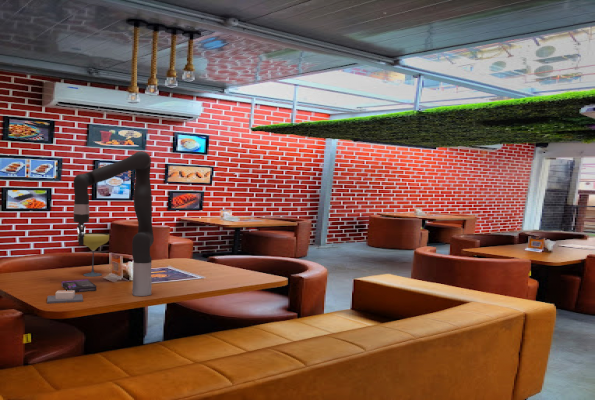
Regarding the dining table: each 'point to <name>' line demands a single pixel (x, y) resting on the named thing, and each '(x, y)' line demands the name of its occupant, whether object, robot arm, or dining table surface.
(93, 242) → the cocktail glass
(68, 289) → the box
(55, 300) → the rubber mat
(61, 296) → the white rectangular block
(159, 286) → the dining table surface
